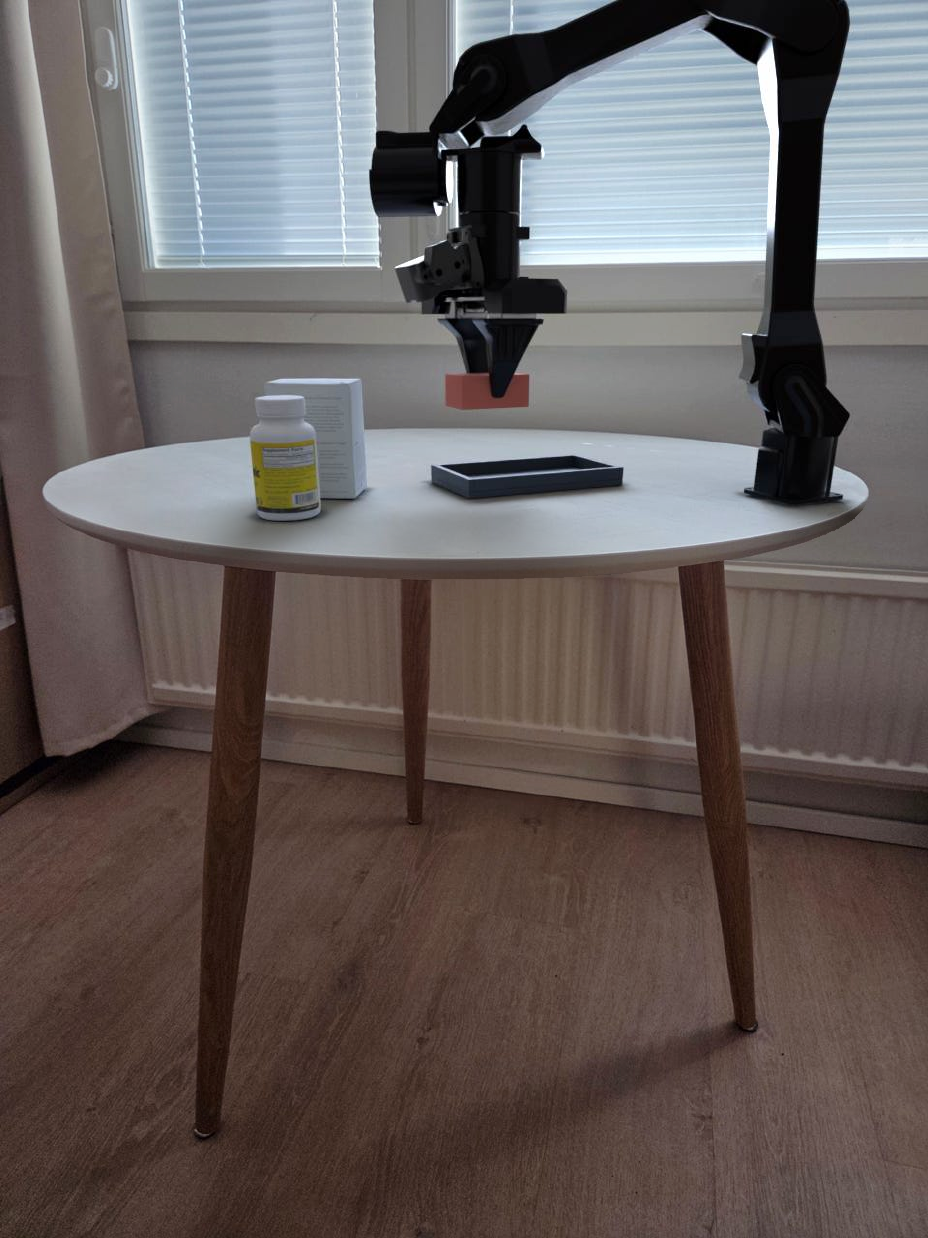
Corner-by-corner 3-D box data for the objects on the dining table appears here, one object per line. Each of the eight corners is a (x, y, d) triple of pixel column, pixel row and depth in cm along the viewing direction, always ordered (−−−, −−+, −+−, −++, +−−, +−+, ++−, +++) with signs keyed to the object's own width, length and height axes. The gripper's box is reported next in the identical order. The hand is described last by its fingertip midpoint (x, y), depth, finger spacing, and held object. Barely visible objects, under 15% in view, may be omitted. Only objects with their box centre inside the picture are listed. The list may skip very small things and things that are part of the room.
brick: (509, 403, 84) (510, 371, 83) (528, 406, 80) (529, 374, 79) (445, 406, 81) (444, 373, 80) (462, 409, 78) (462, 376, 77)
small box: (368, 488, 83) (364, 377, 80) (355, 500, 78) (350, 382, 74) (288, 486, 84) (281, 377, 80) (271, 498, 79) (262, 381, 75)
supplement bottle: (265, 507, 75) (256, 394, 71) (326, 508, 75) (320, 394, 71) (249, 521, 70) (238, 400, 66) (314, 522, 69) (306, 400, 66)
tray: (574, 470, 93) (575, 454, 93) (622, 484, 85) (623, 467, 85) (431, 482, 86) (430, 464, 86) (468, 498, 79) (468, 479, 78)
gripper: (369, 221, 80) (375, 391, 85) (448, 197, 64) (450, 408, 69) (475, 226, 84) (474, 387, 90) (574, 205, 68) (566, 402, 74)
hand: (487, 395), depth 80 cm, fingers closed on brick, 4 cm apart
